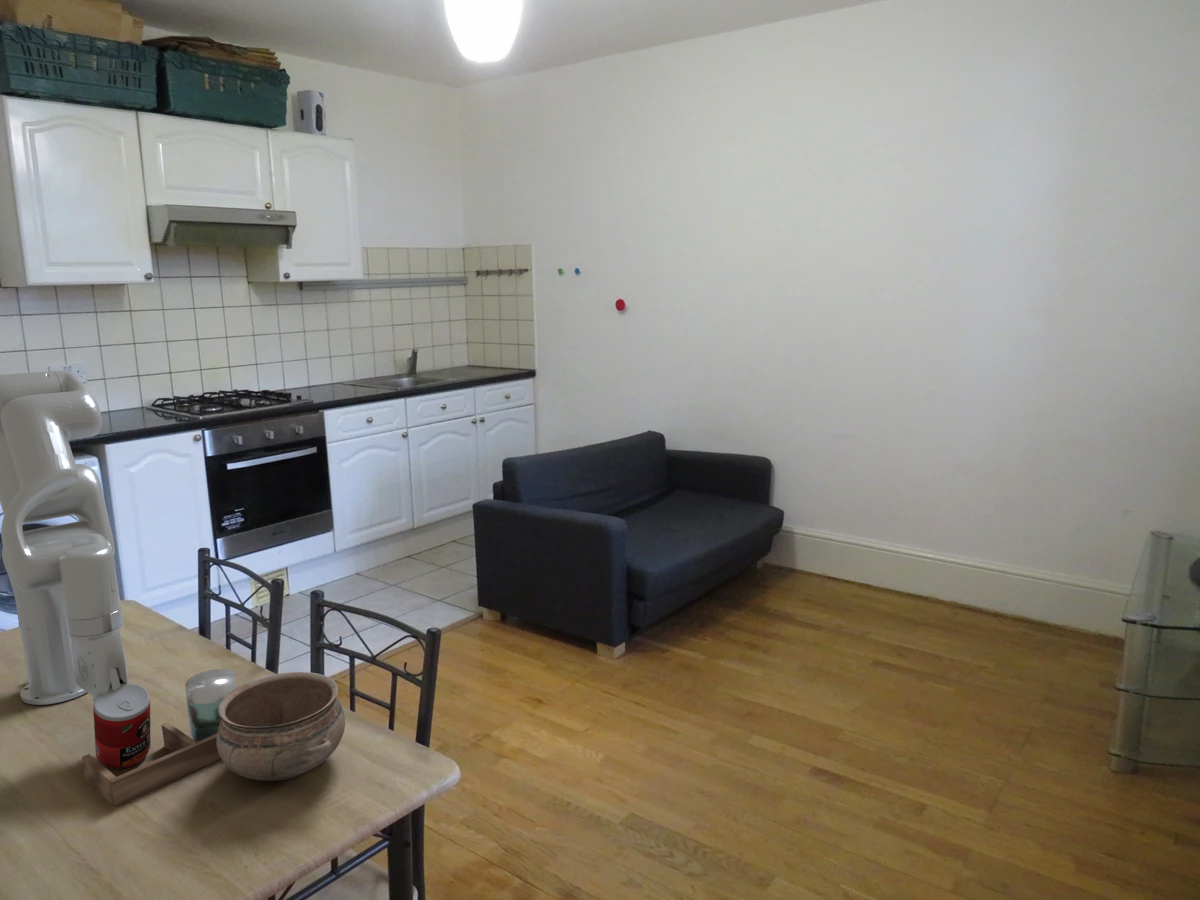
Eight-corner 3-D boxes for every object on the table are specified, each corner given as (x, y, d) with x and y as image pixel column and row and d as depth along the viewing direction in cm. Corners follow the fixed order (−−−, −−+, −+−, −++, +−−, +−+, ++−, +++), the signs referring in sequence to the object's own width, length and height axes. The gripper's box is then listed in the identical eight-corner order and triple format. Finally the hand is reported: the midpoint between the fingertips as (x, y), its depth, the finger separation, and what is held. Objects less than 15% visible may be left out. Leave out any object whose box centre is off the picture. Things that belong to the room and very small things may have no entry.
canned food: (127, 776, 131) (126, 724, 127) (83, 759, 132) (80, 707, 128) (161, 743, 138) (161, 692, 134) (119, 727, 139) (118, 676, 135)
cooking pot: (191, 764, 134) (183, 694, 131) (301, 718, 147) (295, 654, 145) (267, 831, 117) (259, 752, 115) (382, 772, 131) (377, 701, 129)
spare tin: (183, 742, 140) (176, 681, 138) (227, 723, 146) (221, 665, 144) (206, 757, 136) (198, 695, 133) (250, 737, 141) (244, 677, 139)
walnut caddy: (85, 780, 130) (81, 756, 129) (238, 714, 149) (236, 694, 148) (115, 806, 123) (111, 782, 122) (272, 734, 142) (269, 713, 141)
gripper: (51, 618, 136) (67, 722, 139) (88, 641, 126) (105, 751, 130) (101, 604, 141) (116, 704, 145) (140, 625, 132) (154, 731, 136)
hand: (110, 726), depth 137 cm, fingers closed
